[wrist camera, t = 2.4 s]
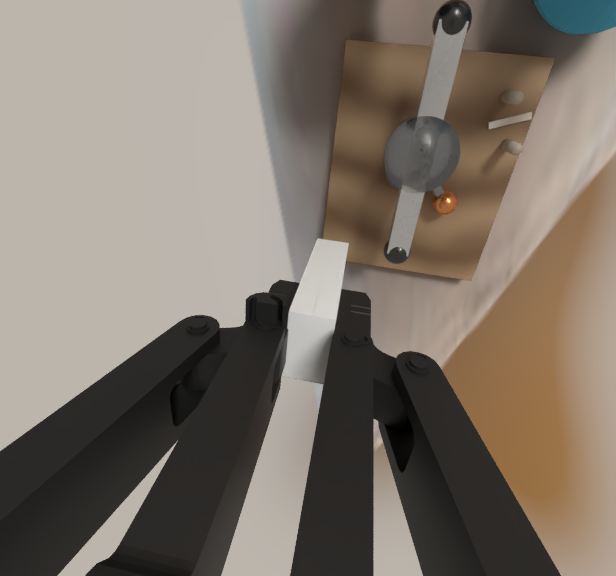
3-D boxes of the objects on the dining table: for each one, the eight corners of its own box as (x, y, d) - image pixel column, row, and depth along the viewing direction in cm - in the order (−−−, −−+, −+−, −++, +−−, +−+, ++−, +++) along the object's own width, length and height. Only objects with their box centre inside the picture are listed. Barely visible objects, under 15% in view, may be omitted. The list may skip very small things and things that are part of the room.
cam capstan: (408, 11, 30) (415, -9, 24) (510, 19, 29) (546, 1, 23) (366, 236, 40) (363, 263, 34) (440, 247, 39) (451, 277, 33)
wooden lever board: (347, 41, 34) (343, 35, 29) (546, 59, 32) (571, 55, 27) (322, 250, 45) (316, 268, 41) (467, 273, 43) (477, 293, 39)
